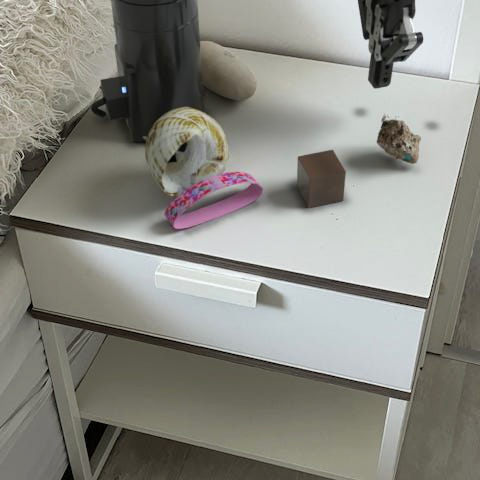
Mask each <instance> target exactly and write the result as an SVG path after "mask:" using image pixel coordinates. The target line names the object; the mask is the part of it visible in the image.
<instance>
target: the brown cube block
mask: <svg viewBox="0 0 480 480" xmlns="http://www.w3.org/2000/svg"><path fill="white" fill-rule="evenodd" d="M296 171H297V172H296V175H297V176H296V186H297V189H298V190H299V193H300V194H301V196H302V198H303V200H304V202H305V204H306V206H307V208H309V209H310V208H315V207H319V206H325V205H329V204H334V203H339V202H343V201H344V198H345V187H346V185H345V184H346V175H347V171H346V169H345V168H344V166H343V165H342V162H341V161H340V159H339V157H338V156H337V154H336V152H335V151H334V149H328V150H323V151H319V152H313V153H307V154H303V155H298V156H297V169H296Z"/></svg>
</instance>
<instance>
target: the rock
mask: <svg viewBox="0 0 480 480" xmlns="http://www.w3.org/2000/svg"><path fill="white" fill-rule="evenodd" d="M399 116H400V115H399ZM399 116H395V118H392V117H391V116H389V114H388V113H387V114H386V113H383V116H382V118H381V120H380V123H381V126H380V129H379V132H378V133H377V139H376V144H377V145H378V146H379V147H380V148H381V149H382V150H384V152H385V153H386V154H388V155H389V156H391V157H393V158H395V160H401V161H402V162H406V163H408V164H412V165H414V164H417V163H418V161H419V157H420V142H421V140H422V137H421V136H420V135H418V134H414V133H413V132H411V130H410V127H409V125H407V124H406V123H405V121H404V120H400V119H399V120H398V118H400V117H399ZM386 118H388V119H386ZM390 118H392V119H390Z"/></svg>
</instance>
